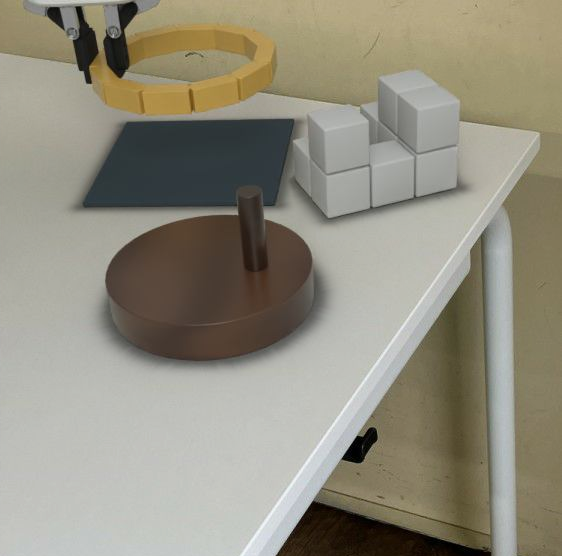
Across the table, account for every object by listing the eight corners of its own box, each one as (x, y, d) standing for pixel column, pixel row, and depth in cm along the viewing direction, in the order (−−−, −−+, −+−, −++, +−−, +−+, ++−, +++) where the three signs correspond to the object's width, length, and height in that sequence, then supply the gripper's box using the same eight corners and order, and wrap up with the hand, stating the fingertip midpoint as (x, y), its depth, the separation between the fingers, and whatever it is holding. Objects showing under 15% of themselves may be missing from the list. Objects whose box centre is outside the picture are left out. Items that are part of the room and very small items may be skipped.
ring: (74, 117, 84) (69, 94, 83) (119, 47, 97) (115, 26, 95) (264, 112, 82) (262, 89, 81) (284, 41, 95) (283, 20, 93)
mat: (83, 206, 89) (82, 202, 88) (127, 125, 102) (126, 121, 102) (274, 205, 86) (274, 201, 86) (294, 122, 100) (293, 118, 99)
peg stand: (89, 359, 71) (63, 248, 65) (136, 247, 82) (118, 145, 77) (304, 361, 69) (297, 247, 63) (322, 246, 80) (316, 142, 75)
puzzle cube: (397, 135, 96) (398, 53, 91) (457, 188, 87) (461, 100, 82) (279, 161, 93) (272, 78, 88) (328, 219, 84) (324, 130, 79)
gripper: (-49, -133, 77) (9, 97, 88) (151, -145, 75) (184, 92, 86) (-16, -154, 83) (34, 64, 94) (171, -166, 81) (199, 59, 92)
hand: (106, 76), depth 90 cm, fingers closed on ring
